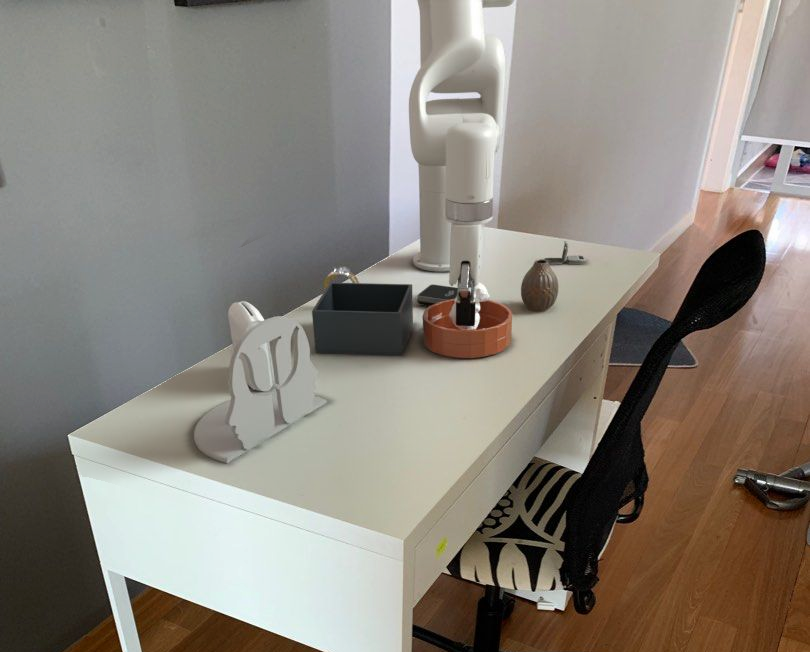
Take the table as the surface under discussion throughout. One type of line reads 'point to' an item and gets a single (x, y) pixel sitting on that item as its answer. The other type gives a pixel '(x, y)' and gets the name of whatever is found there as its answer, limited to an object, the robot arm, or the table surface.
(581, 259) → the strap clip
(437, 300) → the external hard drive
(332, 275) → the ring
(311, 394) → the ornament
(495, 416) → the table surface
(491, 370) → the table surface
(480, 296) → the koala figurine
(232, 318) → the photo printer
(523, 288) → the vase
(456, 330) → the bowl
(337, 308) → the bin
